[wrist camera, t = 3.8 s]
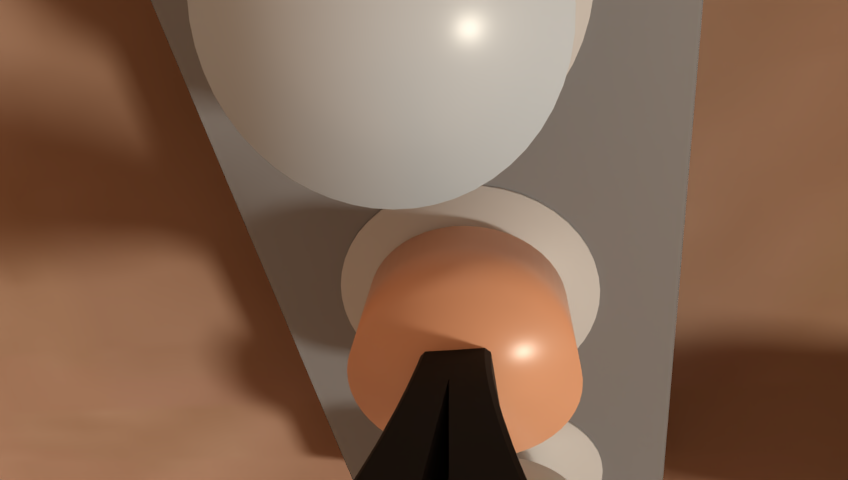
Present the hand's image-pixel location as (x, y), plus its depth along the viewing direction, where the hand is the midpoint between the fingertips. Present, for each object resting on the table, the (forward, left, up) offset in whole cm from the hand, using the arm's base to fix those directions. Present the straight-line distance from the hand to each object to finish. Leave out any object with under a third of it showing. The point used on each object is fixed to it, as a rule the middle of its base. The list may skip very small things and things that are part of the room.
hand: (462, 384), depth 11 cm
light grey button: (+3, +6, -2) cm, 7 cm away
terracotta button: (0, 0, -2) cm, 2 cm away
